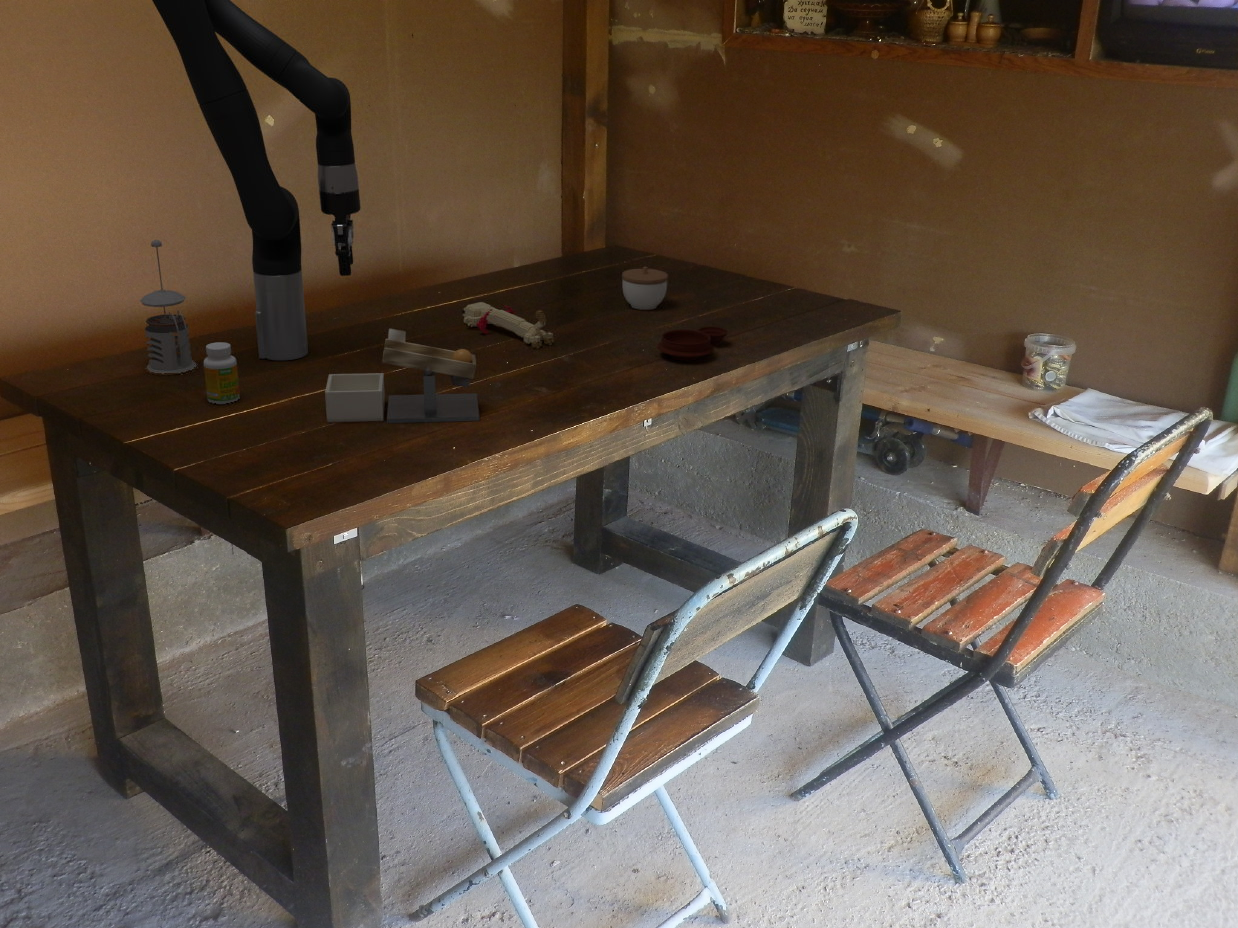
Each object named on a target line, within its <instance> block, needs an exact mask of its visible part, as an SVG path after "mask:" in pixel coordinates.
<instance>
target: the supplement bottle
mask: <svg viewBox="0 0 1238 928" xmlns="http://www.w3.org/2000/svg"><path fill="white" fill-rule="evenodd" d="M205 351H206V355H207V357H205V358H204V360H203V373H204V378H205V379H204V380H205V382H204V383H205V388H206V390H205V391H206V398H207V399H206V400H207V401H208V402H209V403H211V402H212V403H211V404H214V403H216V404H215V405H227V404H226V403H229V404H231V403H230V402H233V403H235V402H234V401H236V402H237V401H239V400H240V398H241V397H240V396H241V395H240V394H241V393H240V385H239V384H240V383H239V372H238V363H237V358H236V357H235V356H233V355H231V354H232V347H231V344H230V343H228V342H212V343H209V344H208V343H207V345H206V346H205ZM238 399H239V400H238Z"/></svg>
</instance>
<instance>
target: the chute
mask: <svg viewBox="0 0 1238 928" xmlns="http://www.w3.org/2000/svg"><path fill="white" fill-rule="evenodd" d="M406 334H407V333H406V331H404V330H400V329H394V328H388V335H387V338H385V341H384V347H383V351H382V364H383V363H384V364H386V365H387V364H389V365H394V366H400V367H405V368H411V369H416V370H421V371H424V370H426V374H428V375H430V374H431V372H435V373H439V374H444V375H449V376H451V385H452V386H455V387H456V386H457V387H462V388H470V383H471V379H472V380H473V379H474V377H475V373H476V368H477V359H476V355H475V354H473V353H471V355H472V363H468V362H462V361H457V360H452V357H453V354H454V353H455V352H456V351H457V350H450V349H445V348H440V347H433V346H429V345H424V344H423V345H422V344H418V343H413V342H406Z"/></svg>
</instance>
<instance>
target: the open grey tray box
mask: <svg viewBox="0 0 1238 928" xmlns="http://www.w3.org/2000/svg"><path fill="white" fill-rule="evenodd" d="M384 374H385V373H384V372H381V373H371V372H370V373H338V374H337V373H335V374H334V373H333V374H332V373H329V374H328V377H327V383H326V387H325V391H324V396H325V410H326V411H325V413H326V423H350V422H353V423H354V422H383V421H384V417H385V415H384V414H385V405H386V404H385V403H386V395H385V380H384V377H385V376H384Z"/></svg>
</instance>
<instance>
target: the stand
mask: <svg viewBox="0 0 1238 928" xmlns="http://www.w3.org/2000/svg"><path fill="white" fill-rule="evenodd" d="M422 376H423V377H422V378H423V394H396V395H395V394H393V395H391V394H389V395H388V398H387V399H388V401H387V412H386V413H387V414H386V423H387V424H405V423H407V424H408V423H410V424H411V423H412V424H413V423H444V422H445V423H446V422H447V423H449V422H452V423H453V422H480V411H479V401H478V394H477V393H476V392H475V393H439V394H438V393H437V391H436V390H437V389H436V372H431V374H430V375H428V374H426V370H423V375H422Z"/></svg>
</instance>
